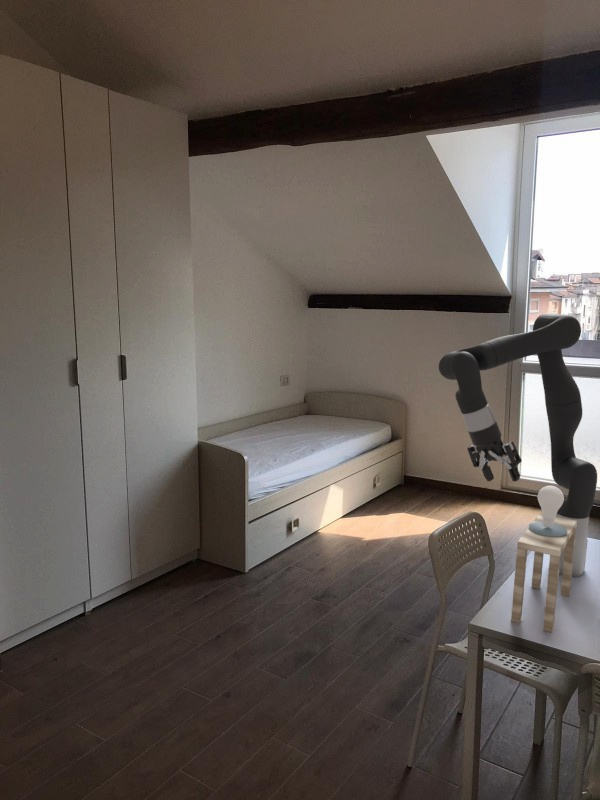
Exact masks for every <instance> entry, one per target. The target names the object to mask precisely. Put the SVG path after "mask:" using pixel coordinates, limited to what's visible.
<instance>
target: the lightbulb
mask: <svg viewBox="0 0 600 800" xmlns="http://www.w3.org/2000/svg"><path fill="white" fill-rule="evenodd" d="M564 499H565V497H564V493H563V491H562V490H561V489H560V488H558V486H554V485H546V486H543V487H541V488H540V490H539V491H538V493H537V501H538V503H539V506H540V508H541V514H542V517H543V526H545V527H546V528H548V529H549V528H551V527H553V525H554V519H555V518H556V514H557V511H558V510H559V508H560V507H561V506H562V504H563V501H564Z"/></svg>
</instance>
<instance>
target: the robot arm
mask: <svg viewBox="0 0 600 800" xmlns="http://www.w3.org/2000/svg"><path fill="white" fill-rule="evenodd" d="M532 326H533V327H532V330H531V331H528V332H522V333H516V334H510V335H504V336H503V335H502V336H499V337H496V338H494V339H493V338H492V339H490V340H486V341H484V342H482V343H480V344H476V345H474V346H470V347H466V348H462V349H458V350H454V351H450V352H448V353H446V354H444V355H443V356H442V357H441V358H440V360H439V362H438V371H439V373H440V375H441V376H442V377H444V378H445V379H447V380H451V381H452V380H453V381H454V380H455V381H456V382H457V385H458V390H456V392H455V400H456V402H457V405H458V408H459V410H460V412H461V413H460V414H461V415H462V420H463V423H464V425H465V427H466V430H467V433H468V434H469V437H470V440H471V442H472V444H471V445H469V446H468V447H467V452H468V454H469V458H470V460H471V463H472V466H473V467H474V468H478V469H480V470H481V471H482V474H483V476H484V479H485V480H486V481H487V482H492V481H493V480H494V479H495V476H494V474H493V471H492V468H491V466H490V465H489V462H492V461H494V462H499V463H500V465H501V464H502V465H504V466H505V467H506V468H507V470H508V473H509V475H510V478H511V480H512V482H513V483H514V482H518V481H519V480H520V478H521V474H520V471H519V469H518V465H519V464H521V463H522V458H521V456H520V454H519V451H518V449H517V447H516V445H515V443H514V441H509V442H507V443H504V442H503V440H502V432H501V430H500V428H499V425H498V422H497V420H496V417H495V415H494V413H493V410H492V408H491V406H490V405H489V402H488V400H487V398H486V395H485V392H484V391H483V387H482V386H483V385H482V383H483V382H482V378H481V377H482V376H481V371H487V370H491V369H495V368H497V367H500V366H503V365H505V364H508V363H511V362H514V361H517V360H520V359H523V358H526V357H531V356H533V355H534V356H535V355H537V358H538V362H539V363H538V364H539V369H540V373H541V379H542V387H543V391H544V393H543V394H544V403H545V409H546V416H547V422H548V430H549V438H550V457H551V458H550V459H551V462H550V464H551V466H550V469H551V475H552V479H553V480H554V483H555V484H556V485H558V486H559V487H562V488H564V489H566V490H568V493H567V497H566V498H564V501H563V504H562V506H561V507H560V508H559V510H558V511H557V514H556V517H560V518H565V519H570V520H575V521H577V526H576V536H575V546H574V556H573V566H572V576H571V577H579V576H582V575H583V574H584V571H585V569H586V561H587V552H588V551H587V550H588V543H589V541H588V531H589V521H590V512H591V510H592V508H593V506H594V502H595V497H596V496H595V495H596V491H597V485H598V472H597V471H598V470H597V468H596V466H595V465H594V464H593V463H591V462H589V461H587V460H584V459H581V458H578V457H576V452H575V447H574V436H575V434H576V432H577V430H578V428H579V426H580V424H581V421H582V418H583V406H582V405H583V404H582V397H581V391H580V389H579V386H578V384H577V382H576V381H575V379H574V377H573V375H572V374H571V372H570V371H569V369H568V367H567V366H566V363H565V360H564V357H563V351H562V350H564V349H569V348H571V347H573V346H575V345H576V343H577V342H578V341H579V339H580V338H581V335H582V334H581V333H582V327H581V323H580V321H579V320H578V319H577V318H576V317H574V316H573V315H569V314H565V313H550V312H549V313H542V314H540V315H539V316H538V317H536V319H535V320H534V322H533V325H532ZM564 553H565V547H564V549H563V551H562V553H561V556H560V567H559V575H561V576H562V574H563V563H564Z"/></svg>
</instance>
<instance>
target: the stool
mask: <svg viewBox="0 0 600 800" xmlns="http://www.w3.org/2000/svg"><path fill="white" fill-rule="evenodd" d="M576 526H577V521H575V520H570V519H565V518H560V517H556V518H555V519H554V525H553V527H551V528H549V529H548V528H546V527H545V526H543V517H542V513H538V515H537V516H536V517H535V518H534V520H533V521H532V522H531V523H529V525H528V528H527V529H526V530H525V532H524V533H523V534H522V535H521V536H520V538H519V539H518V541H517V544H516V545H517V546H516V555H515V556H516V558H515V569H514V579H513V580H514V581H513V590H512V591H513V593H512V605H511V616H510V622H512V623H516V624H520V623H521V621H522V618H523V617H522V615H523V605H524V594H525V582H526V573H527V572H526V571H527V559H528V551H530V552H531V551H532V552H534V553H533V554H534V555H533V556H534V557H533V565H532V576H531V587H532V588H533V589H535V588H536V590H540V588H541V585H542V574H543V563H544V554H545V555H548V556H549V561H548V570H547V571H548V573H547V581H546V582H547V584H546V585H547V586H546V594H545V605H544V614H543V615H544V616H543V626H542V627H543V628H542V631H545V632H548V633H553V632H554V631H553V630H554V626H555V616H556V615H555V614H556V607H557V596H558V585H559V576H560V574H559V567H560V556H561V553H562V551H563V549H564V547H565V553H564V563H563V574H562V575H561V585H560V595H561V596H562V597H563V596H564V597H570V594H571V587H572V586H571V584H572V577H573V576H572V566H573V556H574V546H575V536H576ZM531 587H530V588H531Z"/></svg>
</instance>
